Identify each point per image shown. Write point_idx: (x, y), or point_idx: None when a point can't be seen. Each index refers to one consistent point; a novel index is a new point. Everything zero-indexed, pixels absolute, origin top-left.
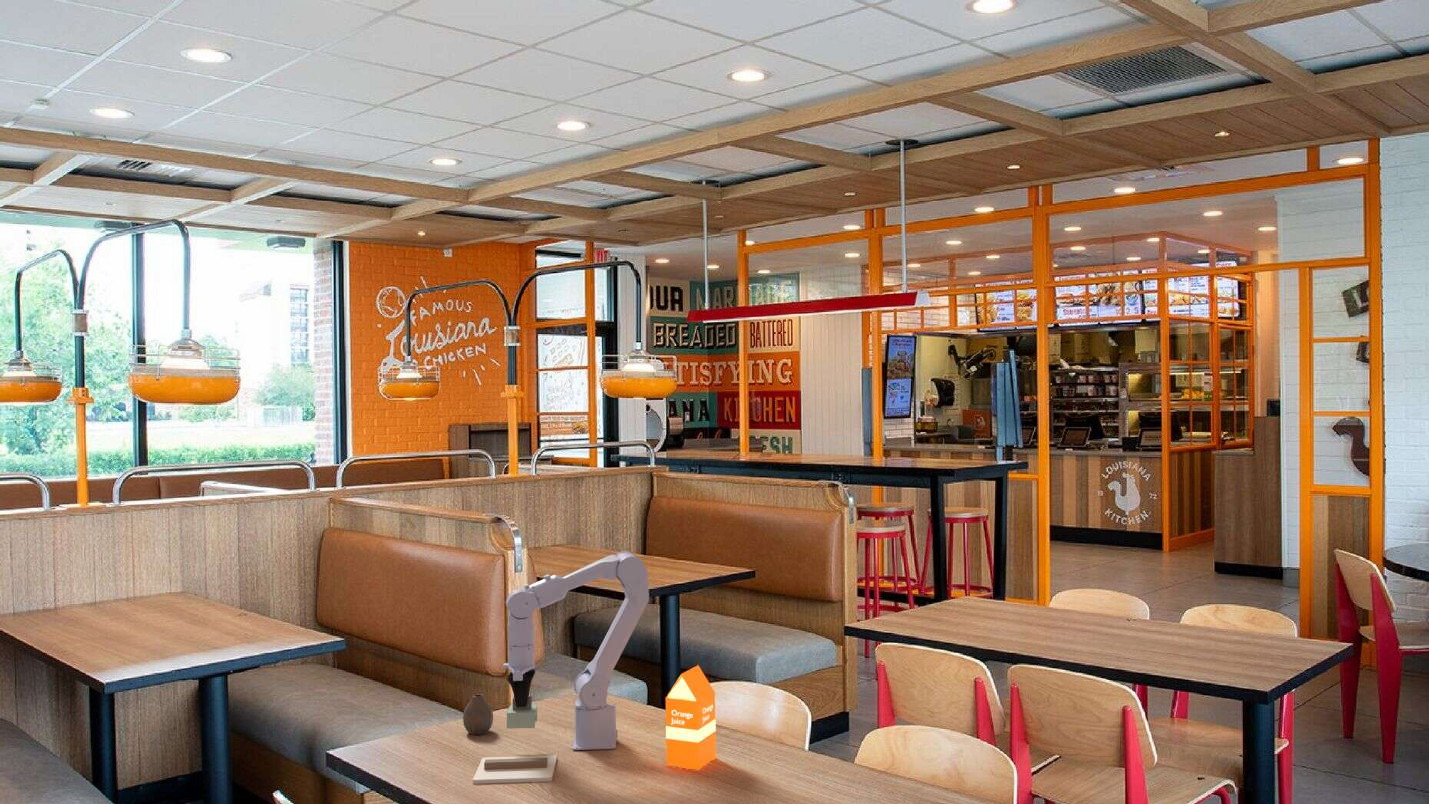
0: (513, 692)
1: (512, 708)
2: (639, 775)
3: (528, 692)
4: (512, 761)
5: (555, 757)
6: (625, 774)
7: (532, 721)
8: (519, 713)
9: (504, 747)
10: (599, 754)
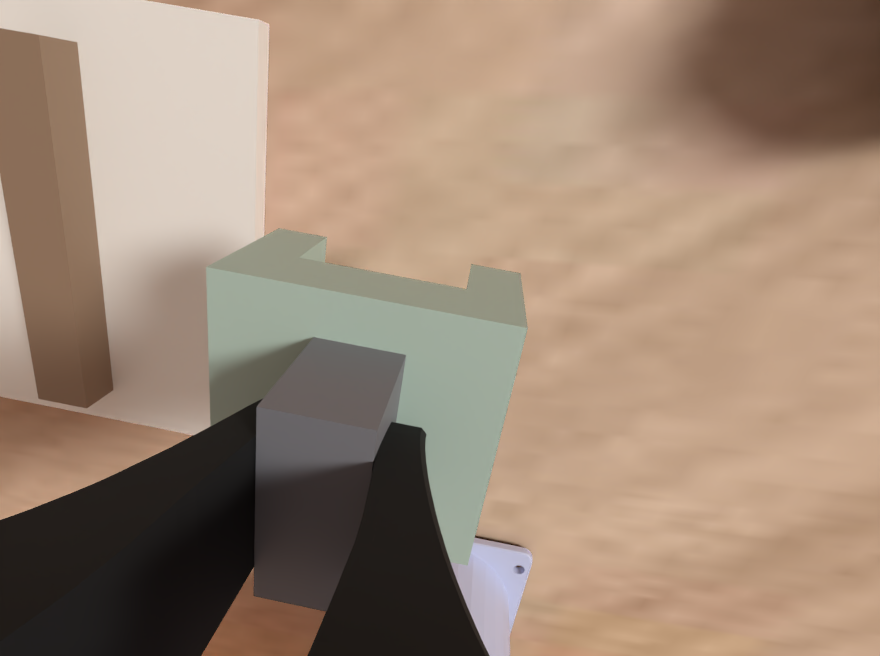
0: (88, 487)
1: (381, 340)
2: None
3: (196, 652)
4: (12, 220)
5: None
6: None
7: None
8: (213, 389)
9: (525, 186)
10: None
